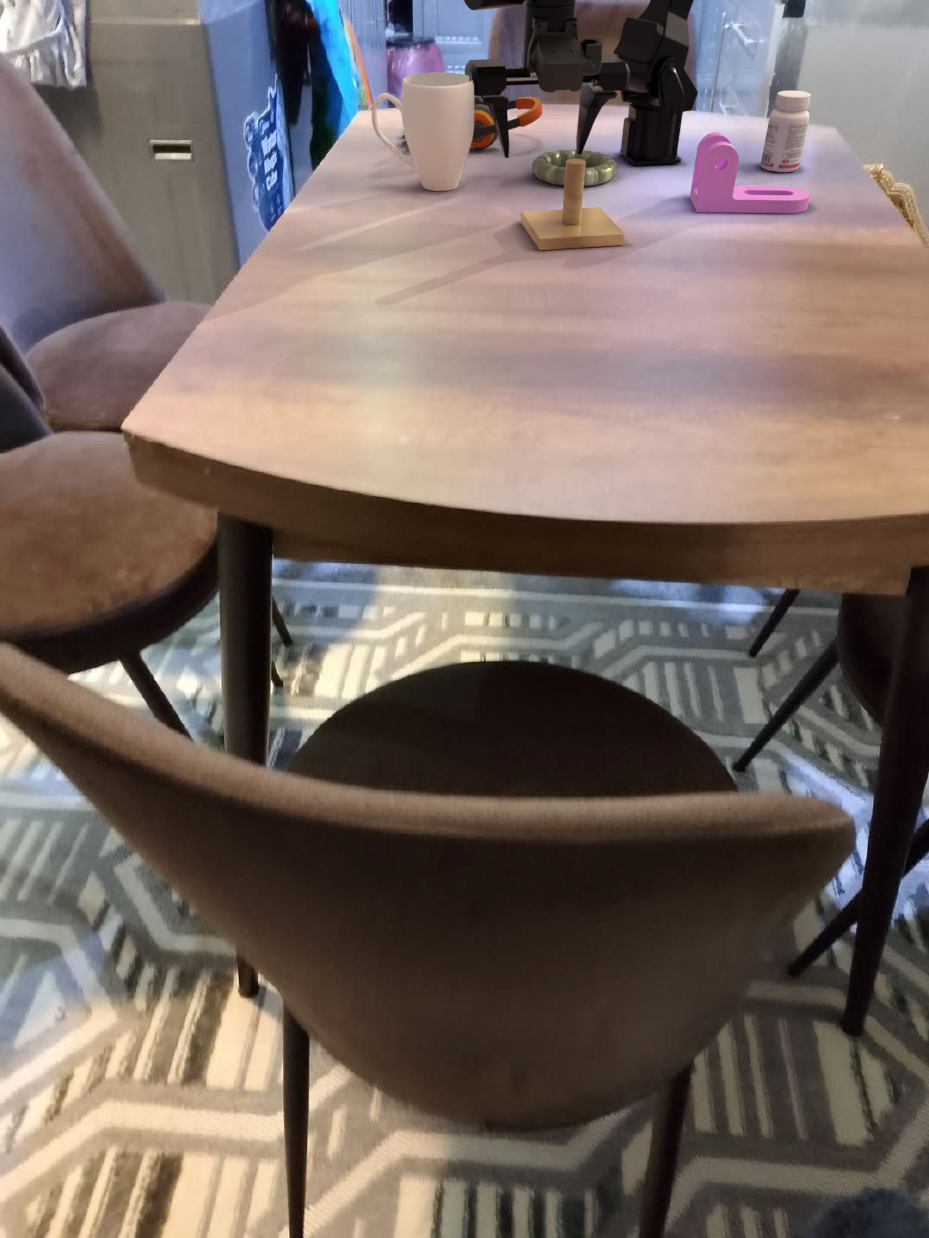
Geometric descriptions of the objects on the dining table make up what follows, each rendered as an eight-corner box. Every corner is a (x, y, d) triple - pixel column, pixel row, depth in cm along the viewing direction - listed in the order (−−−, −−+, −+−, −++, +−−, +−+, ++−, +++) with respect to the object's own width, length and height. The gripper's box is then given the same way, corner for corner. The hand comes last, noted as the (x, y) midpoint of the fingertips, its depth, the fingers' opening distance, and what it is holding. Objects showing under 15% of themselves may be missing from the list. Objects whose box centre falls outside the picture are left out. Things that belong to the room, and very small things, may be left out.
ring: (601, 163, 119) (603, 146, 117) (626, 186, 111) (627, 168, 110) (524, 167, 117) (524, 150, 116) (543, 190, 110) (544, 172, 108)
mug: (474, 176, 114) (474, 72, 106) (473, 196, 108) (474, 87, 100) (379, 176, 114) (372, 72, 107) (372, 196, 108) (365, 87, 100)
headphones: (399, 107, 131) (536, 71, 128) (409, 146, 134) (542, 112, 131) (390, 137, 118) (541, 99, 115) (401, 180, 122) (548, 143, 118)
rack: (599, 218, 102) (605, 147, 97) (623, 245, 95) (631, 171, 90) (520, 222, 100) (523, 151, 96) (539, 250, 94) (543, 175, 89)
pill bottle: (801, 165, 118) (817, 91, 112) (794, 175, 114) (811, 99, 109) (763, 161, 119) (778, 88, 114) (756, 170, 116) (771, 95, 110)
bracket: (696, 212, 103) (707, 145, 99) (689, 197, 107) (699, 132, 103) (812, 213, 103) (828, 146, 98) (801, 198, 107) (816, 133, 102)
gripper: (481, 17, 95) (480, 178, 105) (653, 12, 97) (635, 170, 107) (463, 2, 103) (463, 152, 113) (622, -2, 105) (608, 146, 115)
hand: (542, 155), depth 112 cm, fingers open, 9 cm apart
